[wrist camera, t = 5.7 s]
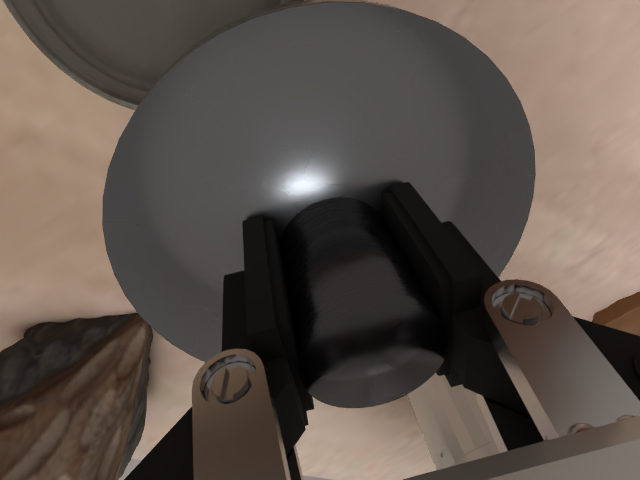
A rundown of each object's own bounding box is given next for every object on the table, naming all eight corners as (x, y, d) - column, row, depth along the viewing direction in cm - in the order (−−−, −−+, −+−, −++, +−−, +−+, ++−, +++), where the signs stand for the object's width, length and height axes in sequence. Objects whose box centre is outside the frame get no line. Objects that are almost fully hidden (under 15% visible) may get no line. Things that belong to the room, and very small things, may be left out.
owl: (152, 395, 45) (103, 637, 29) (22, 394, 42) (-118, 665, 26) (156, 311, 39) (95, 559, 23) (3, 302, 36) (-199, 584, 19)
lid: (495, 312, 16) (586, 435, 12) (199, 388, 15) (188, 544, 11) (545, -52, 9) (805, -57, 5) (10, 61, 8) (-198, 161, 4)
